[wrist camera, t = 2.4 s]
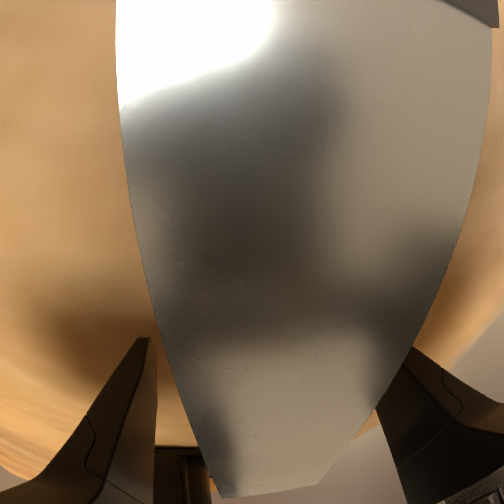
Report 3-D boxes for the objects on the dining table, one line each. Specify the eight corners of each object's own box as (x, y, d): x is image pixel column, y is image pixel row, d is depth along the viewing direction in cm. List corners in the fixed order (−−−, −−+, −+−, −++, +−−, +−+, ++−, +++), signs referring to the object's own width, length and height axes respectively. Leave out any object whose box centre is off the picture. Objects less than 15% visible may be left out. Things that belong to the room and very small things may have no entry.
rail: (293, 394, 14) (318, 485, 10) (210, 404, 14) (220, 500, 9) (339, -2, 5) (490, -46, 1) (172, -10, 5) (126, -124, 1)
